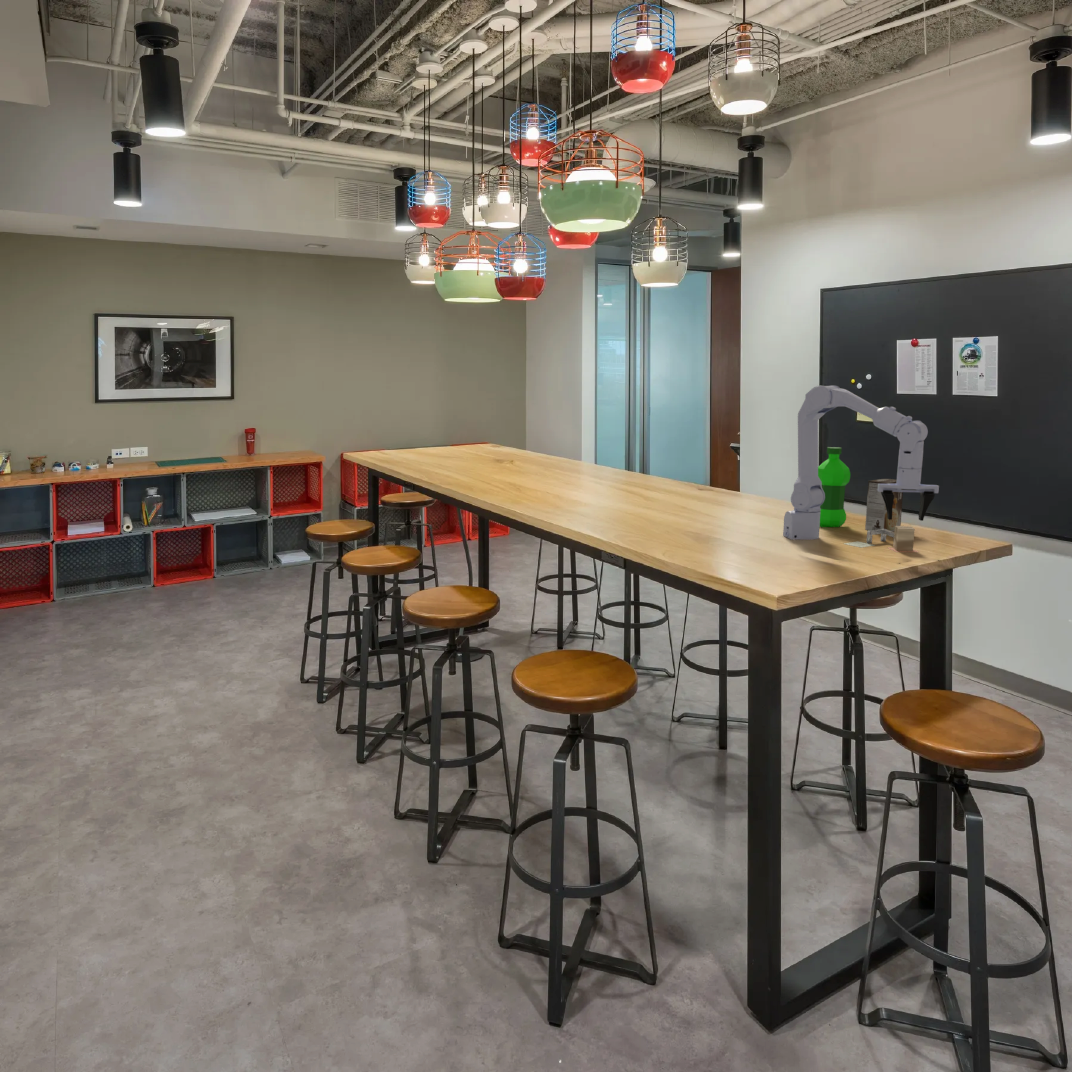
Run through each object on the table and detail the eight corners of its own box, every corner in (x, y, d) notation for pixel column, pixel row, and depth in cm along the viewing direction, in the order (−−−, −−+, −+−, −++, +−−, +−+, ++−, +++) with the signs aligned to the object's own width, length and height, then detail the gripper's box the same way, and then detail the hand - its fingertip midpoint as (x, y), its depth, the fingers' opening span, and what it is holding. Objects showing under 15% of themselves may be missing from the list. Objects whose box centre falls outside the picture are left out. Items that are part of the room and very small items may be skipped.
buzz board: (865, 558, 212) (866, 553, 211) (833, 543, 230) (833, 539, 229) (924, 556, 213) (924, 552, 213) (887, 542, 231) (887, 538, 231)
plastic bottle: (851, 531, 249) (857, 449, 244) (817, 531, 249) (822, 449, 245) (840, 525, 259) (846, 446, 254) (807, 525, 259) (812, 446, 254)
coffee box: (880, 530, 251) (885, 478, 248) (900, 533, 246) (905, 480, 243) (863, 533, 245) (867, 480, 242) (883, 536, 240) (887, 482, 237)
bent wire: (878, 548, 219) (879, 535, 218) (861, 541, 228) (862, 529, 227) (902, 547, 219) (903, 534, 219) (884, 540, 229) (885, 528, 228)
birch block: (912, 551, 214) (914, 529, 212) (896, 550, 214) (898, 528, 213) (909, 548, 217) (911, 526, 216) (893, 547, 218) (895, 525, 217)
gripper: (935, 466, 214) (931, 517, 217) (877, 465, 217) (873, 516, 220) (942, 469, 207) (937, 522, 210) (882, 468, 210) (878, 520, 213)
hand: (905, 519), depth 214 cm, fingers open, 7 cm apart
